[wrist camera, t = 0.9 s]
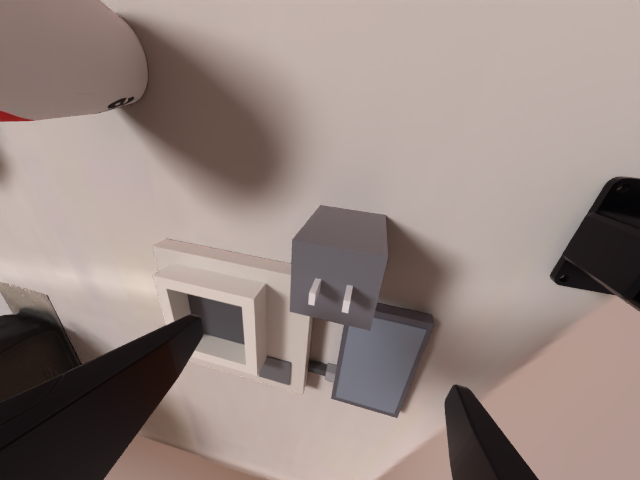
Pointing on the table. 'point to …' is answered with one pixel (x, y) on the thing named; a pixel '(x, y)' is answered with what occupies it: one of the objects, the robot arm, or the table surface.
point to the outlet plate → (236, 312)
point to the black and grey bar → (323, 370)
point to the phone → (381, 359)
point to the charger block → (339, 266)
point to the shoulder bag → (31, 342)
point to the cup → (66, 60)
